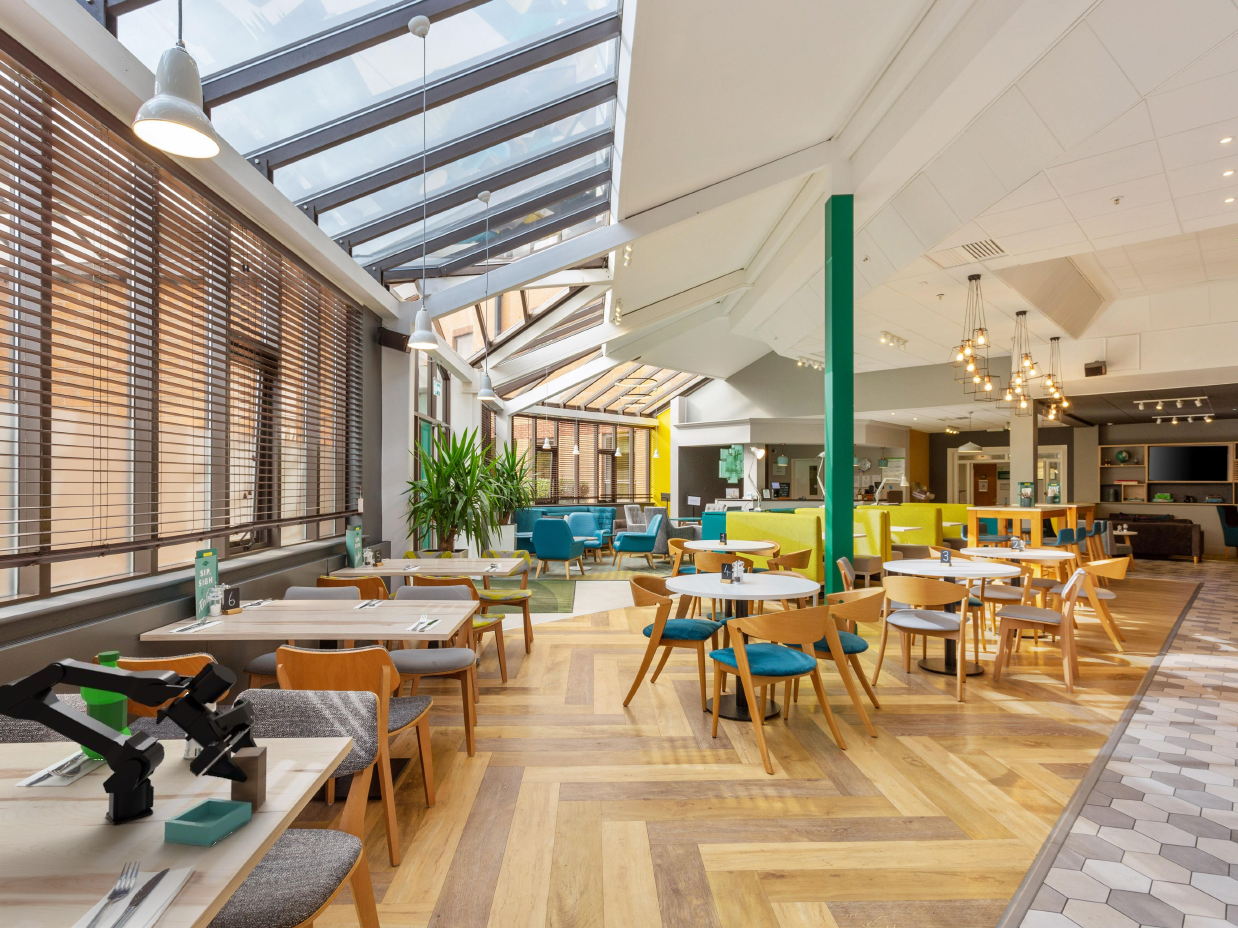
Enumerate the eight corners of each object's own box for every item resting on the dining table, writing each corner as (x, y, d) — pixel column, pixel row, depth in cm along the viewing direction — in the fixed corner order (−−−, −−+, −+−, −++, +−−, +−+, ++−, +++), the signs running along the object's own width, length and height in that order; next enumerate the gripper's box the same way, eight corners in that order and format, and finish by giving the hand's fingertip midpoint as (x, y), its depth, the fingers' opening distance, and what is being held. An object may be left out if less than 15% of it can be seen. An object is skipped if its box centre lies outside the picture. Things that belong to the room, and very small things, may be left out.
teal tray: (164, 840, 125) (164, 821, 125) (207, 815, 135) (208, 797, 135) (210, 846, 123) (210, 827, 123) (251, 820, 133) (251, 802, 133)
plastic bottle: (123, 745, 172) (126, 646, 173) (137, 755, 165) (139, 652, 166) (74, 757, 164) (77, 653, 165) (86, 768, 158) (89, 660, 159)
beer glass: (203, 760, 162) (204, 697, 163) (174, 760, 163) (176, 697, 163) (221, 749, 169) (222, 688, 170) (193, 748, 170) (195, 688, 170)
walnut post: (230, 812, 136) (231, 757, 137) (240, 801, 141) (241, 747, 142) (257, 810, 137) (258, 755, 137) (265, 799, 142) (266, 746, 142)
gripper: (208, 704, 130) (269, 758, 132) (245, 677, 148) (297, 725, 150) (162, 748, 128) (224, 803, 130) (205, 716, 147) (259, 764, 148)
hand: (254, 770), depth 140 cm, fingers open, 9 cm apart
